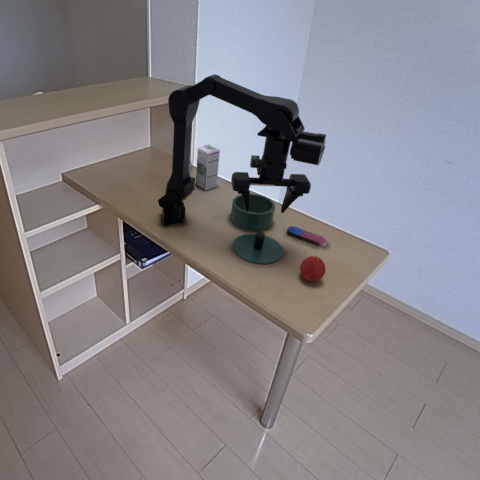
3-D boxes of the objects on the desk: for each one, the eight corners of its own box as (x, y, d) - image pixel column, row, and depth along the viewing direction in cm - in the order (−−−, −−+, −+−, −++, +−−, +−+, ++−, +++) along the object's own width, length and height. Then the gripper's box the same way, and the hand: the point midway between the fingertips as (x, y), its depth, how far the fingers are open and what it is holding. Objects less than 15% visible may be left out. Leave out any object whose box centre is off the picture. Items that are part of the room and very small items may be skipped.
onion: (293, 273, 95) (300, 248, 90) (315, 272, 95) (323, 247, 91) (302, 288, 90) (310, 263, 86) (325, 287, 91) (334, 262, 86)
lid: (242, 268, 96) (245, 251, 93) (226, 239, 107) (228, 223, 104) (291, 263, 98) (295, 246, 95) (269, 234, 109) (273, 218, 106)
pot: (238, 234, 110) (241, 216, 106) (224, 212, 120) (227, 195, 116) (278, 230, 111) (282, 212, 108) (261, 209, 122) (264, 192, 118)
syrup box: (217, 186, 135) (221, 148, 127) (204, 191, 132) (207, 152, 124) (207, 181, 139) (210, 143, 130) (194, 184, 136) (197, 147, 128)
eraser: (327, 243, 106) (329, 238, 105) (322, 249, 103) (324, 244, 102) (289, 229, 112) (291, 224, 110) (284, 235, 109) (286, 230, 108)
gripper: (306, 144, 95) (293, 198, 104) (233, 142, 96) (226, 195, 105) (318, 162, 86) (303, 219, 95) (237, 159, 87) (229, 216, 96)
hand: (264, 211), depth 98 cm, fingers open, 9 cm apart
